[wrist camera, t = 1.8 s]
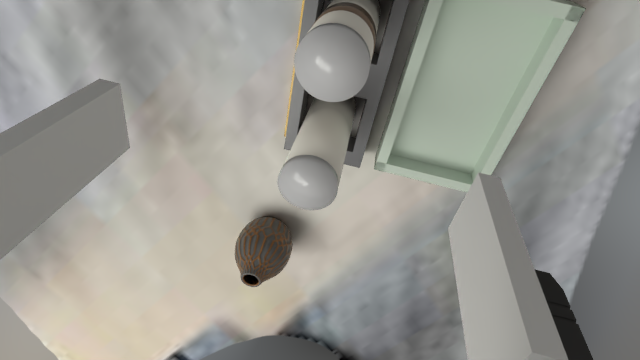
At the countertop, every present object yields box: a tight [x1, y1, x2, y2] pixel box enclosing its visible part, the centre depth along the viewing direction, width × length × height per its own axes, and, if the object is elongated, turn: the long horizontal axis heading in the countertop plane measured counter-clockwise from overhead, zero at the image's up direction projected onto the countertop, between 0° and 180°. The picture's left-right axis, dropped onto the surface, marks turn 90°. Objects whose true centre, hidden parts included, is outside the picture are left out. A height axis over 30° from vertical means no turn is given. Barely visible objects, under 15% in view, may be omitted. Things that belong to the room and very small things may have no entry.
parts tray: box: [374, 0, 586, 192], centre depth 34 cm, size 18×11×3 cm, turn 170°
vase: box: [235, 217, 292, 287], centre depth 46 cm, size 7×7×9 cm
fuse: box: [278, 97, 356, 210], centre depth 32 cm, size 4×4×14 cm
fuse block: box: [284, 0, 409, 168], centre depth 34 cm, size 18×9×3 cm, turn 170°
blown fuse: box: [294, 0, 380, 102], centre depth 27 cm, size 4×4×14 cm
